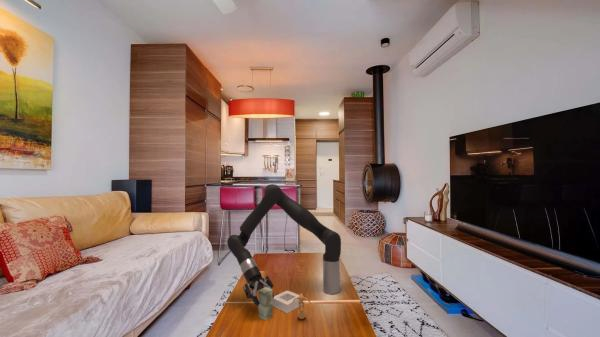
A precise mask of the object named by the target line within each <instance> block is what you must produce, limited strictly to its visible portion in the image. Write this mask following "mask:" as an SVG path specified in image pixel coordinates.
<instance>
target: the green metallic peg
mask: <svg viewBox="0 0 600 337" xmlns="http://www.w3.org/2000/svg"><path fill="white" fill-rule="evenodd" d="M273 294H274V292H273V289H269V288H267V287H265V288H263V289H260V290H258V300H259V303H260V304H259V305H258V318H260V319H261V320H263V321H267V320H269V319H271V318H273V312H274V310H273V308H274V307H273Z"/></svg>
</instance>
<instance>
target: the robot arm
mask: <svg viewBox="0 0 600 337" xmlns="http://www.w3.org/2000/svg"><path fill="white" fill-rule="evenodd" d="M275 205H276V206H278V207H279V208H281V209H282V210H283V211H284V212H285V213H286V215H288V217H289V218H290V219H292V220H293V221H294V222H295V223H297V225H299V226H300V227H302V228H303V229H305V230H306V231H307V232H310V233H312V234H313V235H314V236H315V237H316V238H317V239H318V240H319V241H320V242H321V243H322V244H324V246H325V249H324V253H323V255H322V286H323V287H322V289H323V292H324V293H325V294H329V295H335V294H339V293H340V292H341V290H342V289H341V272H340V271H341V269H340V264H341V263H340V257H341V254H342V252H341V251H342V239H341V235H340V234H339V233H338V232H337V231H334V230H332V229H330V228H329V227H327V226H326V225H324V224H323V223H321V222H320V221H319V220H318V219H317V218H316V216H315V215H314V214H313V213H312V212H311V211H310V210H308V209H307V208H306V207H305V206H303V205H302V204H301V203H299V202H297V201H295V200H294V199H292V198H291V197H290V196H288V195H287V194H286V193H285V192H284V190H282V188H281V187H280V186H278V185H277V184H274V183H273V184H267V185H266V187H265V188H264V190H263V197H262V199H261V200H260V202H259V204H258V205H257V206H256V207H255V208H254V209H253V210H252V211H251V213H250V214H248V216H247V217H245V220H243V222H242V224H241V225H240V226H239V230H240V233H239V235H238V234H231V235H229V237H228V238H227V241H226V244H227V247H228V249H229V250H230V252H231V254H232V255H233V256H234V257H235V258H236V260H237V262H238V265H239V266H240V270H241V274H242V275H243V277H244V279H245V281H246V283H245V284H244V285H243V287H242V288H243V291H244V294H245V297H246V298H247V299H252V302H253V304H254V305H255V306H256V307H259V304H260V303H259V297H257V294H256V293H257V291H258V292H259V290H260V289H263V288H265V287H267V288H269V289H272V288H273V287H274V284H273V283H272V281H271V278H270V277H269V276H268V275H266V276H265V277H263V276H262V273H261V271H260V268H259V266H258V264H257V263H256V261H255V259H254V258H253V256H252V254H251V252H250V250H248V249H247V248H246V246H247V244H248V243H249V241H250V238H251V235H252V233H253V232H254V231H255V230H256V228H257V227H258V226H259V225H260V223H261V221H262V220H263V219H264V218H265V216H266V215H267V214H268V212H270V211H271V209H272V208H273V207H274V206H275ZM250 289H251V290H250ZM272 290H273V289H272ZM274 296H275V294H274V293H273V298H274Z"/></svg>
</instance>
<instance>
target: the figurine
mask: <svg viewBox="0 0 600 337" xmlns="http://www.w3.org/2000/svg"><path fill="white" fill-rule="evenodd" d="M299 295H300V296H299V297H297V298H295V299H294V300H293V302H294V301H295V300H296V299H299V301H300V302H298V303H299V307H298V310H297V312H296V314H297V315H296V317H297V318H299V319H300V320H304V319H305V318H306V316H307V312H306V310H305V309H304V308H305V301H304V300H306V301H308V302H309V303H310V305H311V303H312V302H311V301H310V299H309V298H307V297H305V296H304V295H303V293H302V292H301V293H300V294H299ZM293 302H292V304H293ZM301 304H302V308H301V306H300V305H301Z"/></svg>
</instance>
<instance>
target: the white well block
mask: <svg viewBox="0 0 600 337" xmlns="http://www.w3.org/2000/svg"><path fill="white" fill-rule="evenodd" d="M299 296H300V294H298V293H295V292H293V291H290V290H285V291H283V292H280V293H279V294H276V295H274V298H273V308H276V309H278V310H279V311H282V312H284V313H286V314H289V313H291V312H293V311H294V310H296V309H299V303H298V302H300V301H299V299H296V300H295V301H294V302H293V300H294V299H295V298H297V297H299ZM292 302H293V304H292ZM301 306H302V307H303V305H302V304H301V305H300V307H301Z"/></svg>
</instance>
